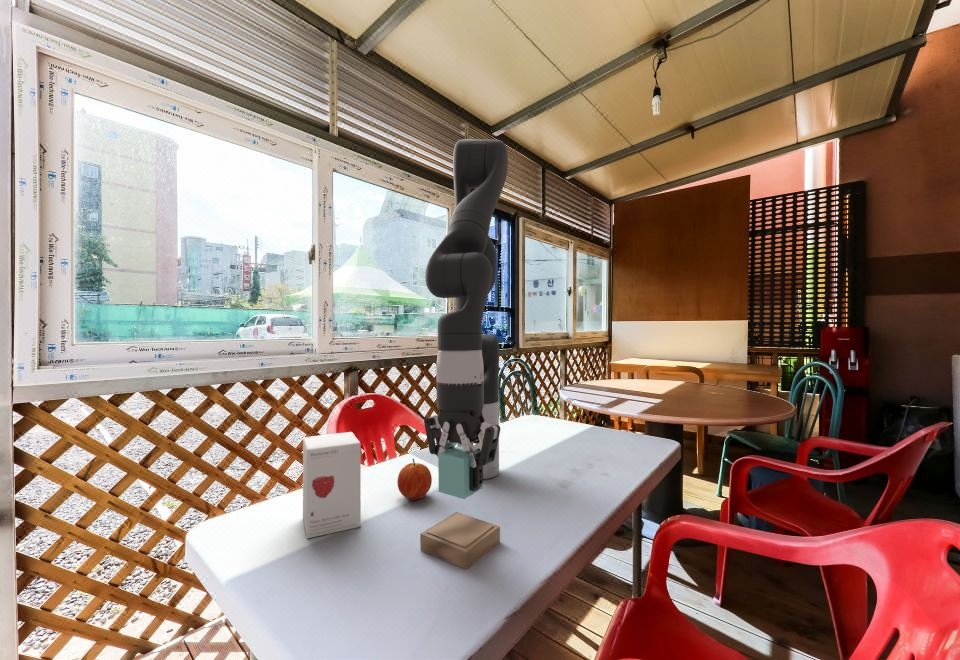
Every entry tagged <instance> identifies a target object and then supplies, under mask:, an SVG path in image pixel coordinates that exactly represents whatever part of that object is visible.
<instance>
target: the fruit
mask: <svg viewBox="0 0 960 660" xmlns="http://www.w3.org/2000/svg"><path fill="white" fill-rule="evenodd" d="M432 480H433V478H432V473H431V471H430V469H429V468H428V466H427V465H425V464H423V463H419V462H415V459H414V458H412V463H411V462H410V463H408V464H405V465H404V466H403V467H402V468H401V470H400V471H399V473H398V476H397V481H396V483H397V484H396V485H397V489H398V491H399V493H400V494H401V495H402V496H403V497H405V498H406V499H409V500H412V501H415V500H418V499H422V498H423V497H425V496H426V495H427V494H428V492H429V491H430V489H431V486H432Z"/></svg>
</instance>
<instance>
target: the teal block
mask: <svg viewBox="0 0 960 660" xmlns="http://www.w3.org/2000/svg"><path fill="white" fill-rule="evenodd" d="M475 455H476V453H475ZM437 459H438V461H437V462H438V466H437V467H438V468H437V469H438V492H439V493H442V494H444V495H449V496H451V497H455V498H459V499H462V500H465V499H467V498H469V497H470V496H472V495H474V494H475V493H477V492H479V491H481V490H482V489H484V488H483V487H484V483H483V484H482V486H481V487H480V489H478V490H476V491H475V492H474V491H470V489H469V467H471V466H470V463H469V457H468V456H467V454H466V453H465V452H464V450H463V447H460V446H457V445H456V446H455V448H453V449H449V450H447V451H446V452H441V453H439V454H438V456H437Z"/></svg>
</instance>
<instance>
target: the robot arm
mask: <svg viewBox="0 0 960 660" xmlns="http://www.w3.org/2000/svg"><path fill="white" fill-rule="evenodd" d="M452 154H453V155H452V168H453V169H452V171H453V172H452V173H453V174H452V175H453V189H454V207H455V208H454V211H453V213H452V214H451V219H450V222H449V224H448V225H449V226H448V228H447V229H448V230H447V233H446V235H445V236H444V237H443V239H442V240H441V242H440V243H439V244H438V246H437V247H436V248H435V250H434V251H433V252H432V254H431V256H430V257H429V260H428V261H427V265H426V267H425V272H424V274H425V275H424V278H425V279H424V280H425V284H426V288H427V289H428V291H429V292H430V294H432V295H433V296H435V297H436V298H440V299H453V298H455V311H451V312H447V313H444V314H442V315H441V316H439V317H438V320H437V356H436V357H437V358H436V365H435V366H436V367H435V369H436V372H435V373H436V379H435V380H436V387H435V388H436V407H437V409H438V410H439V411H438V414H437V415H432V416H428V417H425V418H424V420H423V423H424V430H425V434H426V440H427V445H428V450H429V453H430V454H431V455H435V456H437V457H438V454H439V453H441V452H446V451H447V450H449V449H453V448H455V447H457V446H460V447H463V450H464V452H465V453H466V454H467V456H468V457H469V463H470V466H471V467H469V489H470V491H474V492H475V491H476V490H478V489H480V487H481V486H482V484H483V485H484V480H488V479H491V478H495V477H497V476H498V475H499V473H500V434H501V426H500V424H499V423H500V419H499V418H500V417H499V415H500V414H499V410H500V409H499V405H500V403H499V399H500V398H499V374H500V373H499V371H500V369H499V367H500V342H499V339H498V337H497V335H494V334H488V333H486V334H484V333H483V331H482V328H483V327H482V325H483V317H484V311H485V306H486V302H487V300H488V299H487V298H488V296H489V295H490V293H491V291H492V289H493V287H494V285H495V283H496V278H497V255H498V253H497V250H496V247H495V245H494V242H493V241H492V239H491V237H490V236H489V232H490V227H491V222H492V218H493V215H494V211H495V209H496V207H497V205H498V202H499V200H500V197H501V194H502V191H503V189H504V186H505V182H506V180H507V176H508V167H509V158H508V157H509V155H508V148H507V145H506V144H505V143H504V142H503V141H502V140H499V139H490V138H489V139H472V138H471V139H467V138H466V139H459V140H457V142H455V145H454V148H453V153H452ZM471 189H473V190H472V192H471ZM482 333H483V334H482ZM475 453H476V455H475Z"/></svg>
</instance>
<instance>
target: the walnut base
mask: <svg viewBox="0 0 960 660" xmlns="http://www.w3.org/2000/svg"><path fill="white" fill-rule="evenodd" d="M500 528H501V527H500V525H497V524H496V523H495V524H494V523H491V522H488V521H485V520H482V519H479V518H476V517H473V516H470V515H467V514H463V513H461V512H457V511H456V512H454V513H452V514H450V515H448V516H446V518H444V519H443V520H440V521H439V522H438V523H436V524H434V525H432V526H431V527H429V528H428V529H426V530H425V531H422V532H420V533H419V534H420V537H419V538H420V539H419V540H420V544H419V545H420V548H419V549H420V551H422V552H424V553H427V554H430V555H432V556H434V557H437V558H438V559H441V560H444V561H445V562H448V563H450V564H453V565H455V566H458V567H460V568H462V569H465V570H468V569H469V568H470V567H471V566H472V565H473V564H475V563H476V562H477V561H478V560H480V558H482V557H483V556H484V555H486V554H487V553H489V551H490V550H492V549H493V548H494V547H495V546H497V544H499V543H500V542H501V534H500V533H501V529H500Z"/></svg>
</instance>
